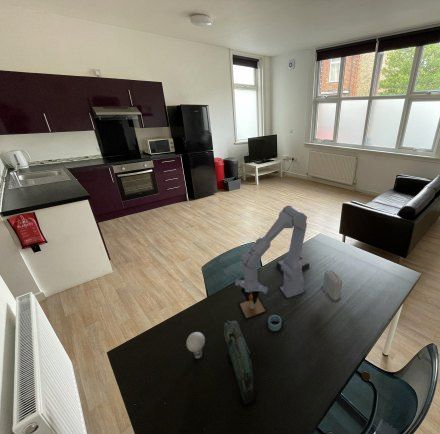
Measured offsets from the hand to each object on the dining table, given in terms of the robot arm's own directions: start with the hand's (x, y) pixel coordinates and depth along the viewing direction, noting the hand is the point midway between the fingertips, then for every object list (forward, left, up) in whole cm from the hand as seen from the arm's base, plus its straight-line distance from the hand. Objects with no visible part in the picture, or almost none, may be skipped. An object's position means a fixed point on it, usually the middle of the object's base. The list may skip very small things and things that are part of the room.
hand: (251, 300), depth 106 cm
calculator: (-31, -17, -4) cm, 36 cm away
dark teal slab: (+14, +26, -4) cm, 30 cm away
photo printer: (-38, +8, -4) cm, 39 cm away
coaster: (0, 0, -4) cm, 4 cm away
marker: (0, 0, -4) cm, 4 cm away
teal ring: (-5, +13, -4) cm, 15 cm away
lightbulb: (+26, +13, -4) cm, 29 cm away
